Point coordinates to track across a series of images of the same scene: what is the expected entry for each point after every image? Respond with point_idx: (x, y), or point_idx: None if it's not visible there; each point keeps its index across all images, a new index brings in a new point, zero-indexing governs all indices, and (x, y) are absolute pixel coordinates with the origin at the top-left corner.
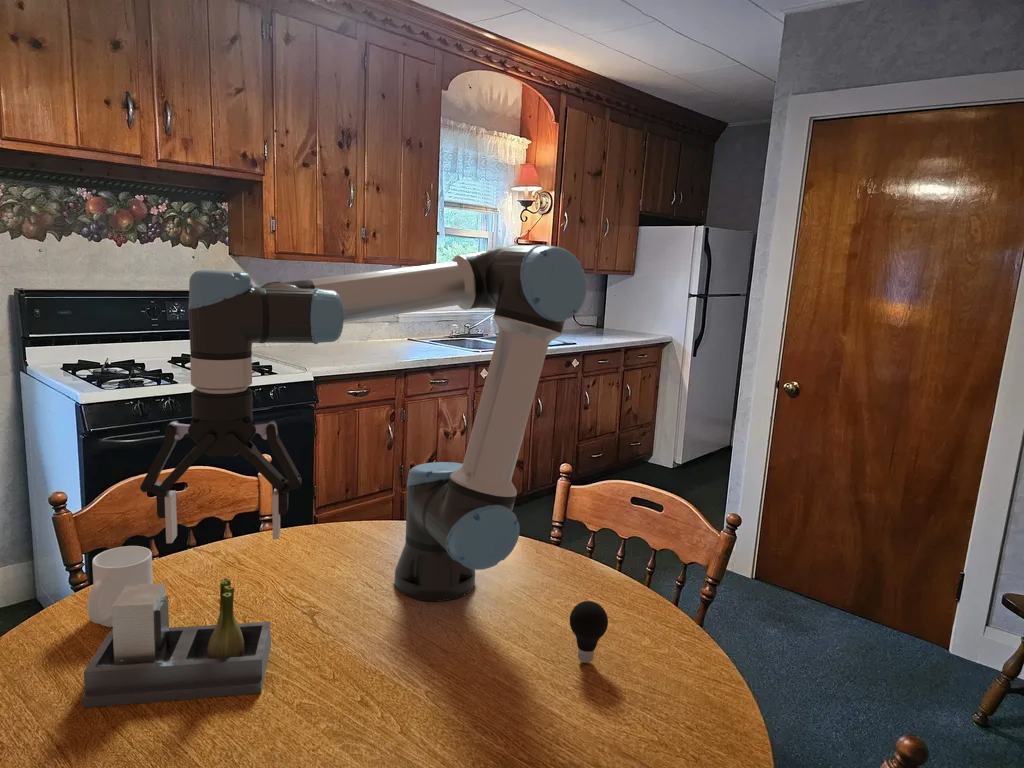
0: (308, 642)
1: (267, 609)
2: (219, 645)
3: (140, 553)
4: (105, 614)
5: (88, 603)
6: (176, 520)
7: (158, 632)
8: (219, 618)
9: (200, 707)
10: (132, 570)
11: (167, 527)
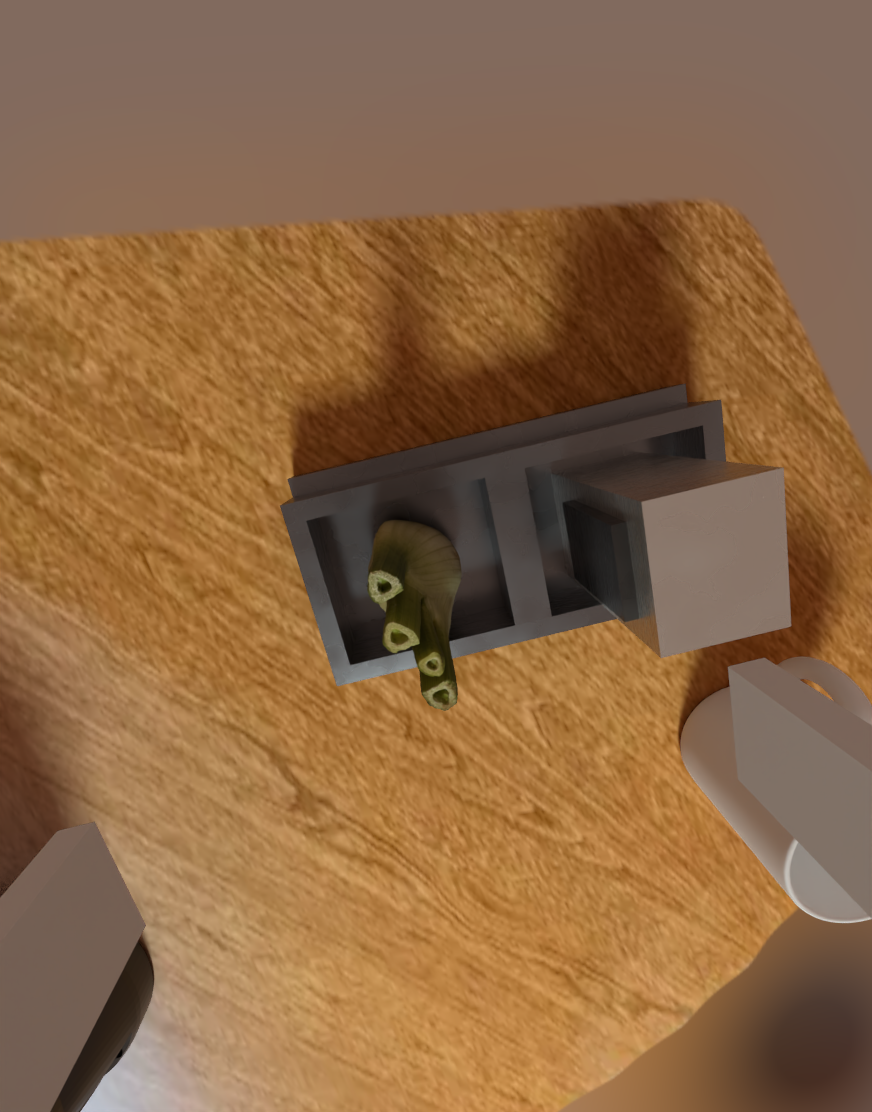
0: (265, 686)
1: (420, 802)
2: (410, 530)
3: (818, 898)
4: None
5: (845, 674)
6: (821, 860)
7: (588, 510)
8: (435, 597)
9: (411, 411)
10: None
11: (852, 724)
